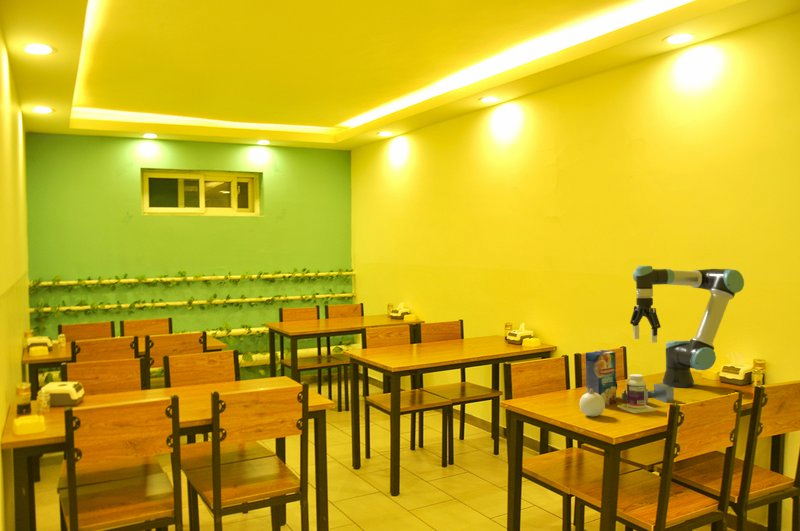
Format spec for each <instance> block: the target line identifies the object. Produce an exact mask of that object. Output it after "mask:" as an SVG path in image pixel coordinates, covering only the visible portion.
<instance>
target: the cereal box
mask: <svg viewBox="0 0 800 531" xmlns="http://www.w3.org/2000/svg"><path fill="white" fill-rule="evenodd" d="M616 356H617V355H616V352H615V351H612V350H605V349H604V350H602V349H601V350H596V351H588V352H585V387H586V388H585V390H586V392H585V394H586V393H589V391H590V389H593V391H594V393H597V394H599V395H601V396H602V398H603V399H604V402H605V407H606V406H610V405H615V404H617V390H616V382H617V374H616V373H617V369H616V365H617V363H616V361H617V360H616Z"/></svg>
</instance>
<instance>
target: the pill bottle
mask: <svg viewBox="0 0 800 531" xmlns="http://www.w3.org/2000/svg"><path fill="white" fill-rule="evenodd" d="M643 379H644V376H643V374H639V373H638V374H637V373H631V374H629V379H628V380H627V382H626V393H627V400H626V404H627V405H628V406H629V407H630V408H636V409H642V408H645V407H646V405H647V404H646V389H647V383H646V381H645V380H643Z"/></svg>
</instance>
